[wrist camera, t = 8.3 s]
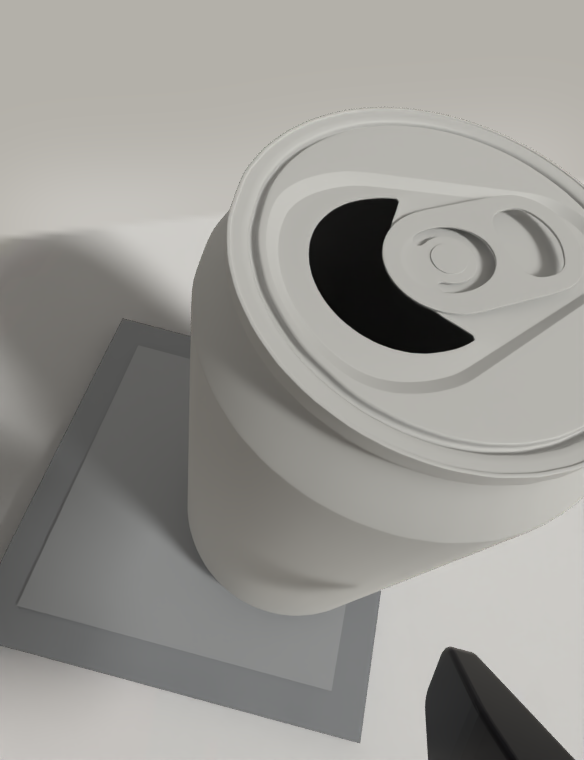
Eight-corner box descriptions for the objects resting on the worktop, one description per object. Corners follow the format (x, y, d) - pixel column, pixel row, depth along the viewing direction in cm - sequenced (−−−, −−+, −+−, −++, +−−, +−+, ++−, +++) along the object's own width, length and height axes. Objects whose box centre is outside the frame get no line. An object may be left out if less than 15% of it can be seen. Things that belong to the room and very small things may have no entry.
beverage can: (166, 441, 17) (134, 92, 7) (345, 398, 19) (537, 74, 9) (218, 651, 15) (297, 613, 4) (419, 577, 16) (818, 423, 6)
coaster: (354, 741, 15) (360, 743, 14) (-27, 637, 15) (-38, 634, 14) (402, 401, 20) (408, 392, 20) (125, 327, 20) (122, 316, 20)
